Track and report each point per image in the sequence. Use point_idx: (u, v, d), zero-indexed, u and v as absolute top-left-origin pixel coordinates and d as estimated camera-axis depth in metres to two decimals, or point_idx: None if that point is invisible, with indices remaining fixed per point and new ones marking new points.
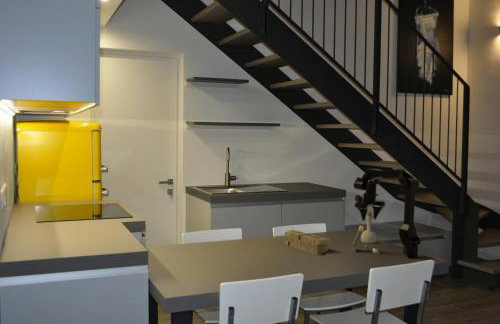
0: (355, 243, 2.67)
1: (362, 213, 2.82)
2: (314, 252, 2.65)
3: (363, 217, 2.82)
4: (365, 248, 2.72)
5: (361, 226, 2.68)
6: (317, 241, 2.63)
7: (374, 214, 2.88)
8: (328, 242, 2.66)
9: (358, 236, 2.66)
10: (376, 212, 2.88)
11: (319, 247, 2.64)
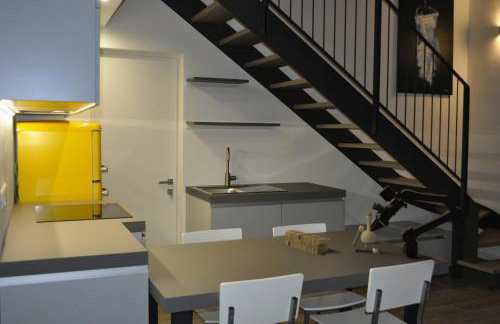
0: (355, 243, 2.67)
1: (376, 226, 2.61)
2: (314, 252, 2.65)
3: (374, 229, 2.62)
4: (365, 248, 2.72)
5: (361, 226, 2.68)
6: (317, 241, 2.63)
7: (373, 224, 2.72)
8: (328, 242, 2.66)
9: (358, 236, 2.66)
10: None
11: (319, 247, 2.65)
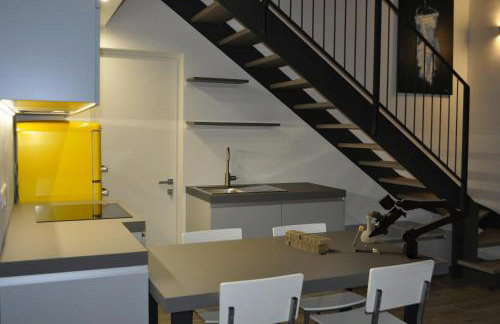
0: (355, 243, 2.67)
1: (374, 232, 2.66)
2: (315, 252, 2.65)
3: (372, 235, 2.66)
4: (365, 248, 2.72)
5: (361, 226, 2.68)
6: (318, 241, 2.63)
7: None
8: (329, 242, 2.66)
9: (358, 236, 2.66)
10: None
11: (320, 247, 2.65)
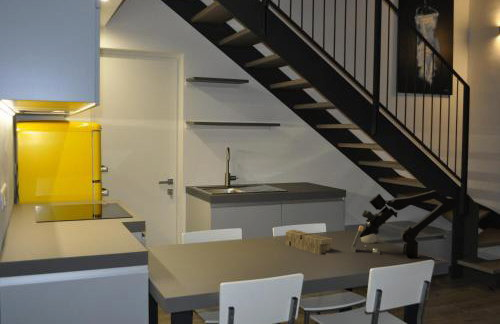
0: (355, 243, 2.67)
1: (365, 232, 2.66)
2: (316, 252, 2.66)
3: (363, 235, 2.67)
4: (365, 248, 2.72)
5: (361, 226, 2.68)
6: (320, 241, 2.64)
7: None
8: (330, 242, 2.67)
9: (358, 236, 2.66)
10: None
11: (321, 247, 2.65)
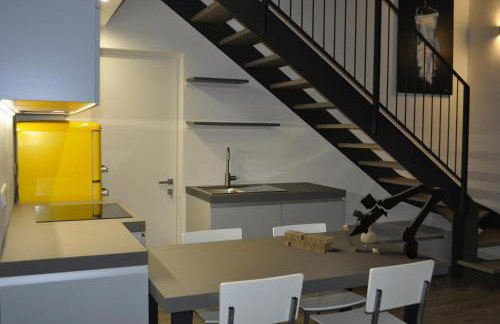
0: (351, 243, 2.67)
1: (356, 231, 2.67)
2: (321, 251, 2.67)
3: (353, 234, 2.68)
4: (365, 248, 2.72)
5: (344, 226, 2.69)
6: (324, 240, 2.65)
7: None
8: (333, 241, 2.69)
9: (348, 235, 2.67)
10: None
11: (325, 246, 2.67)
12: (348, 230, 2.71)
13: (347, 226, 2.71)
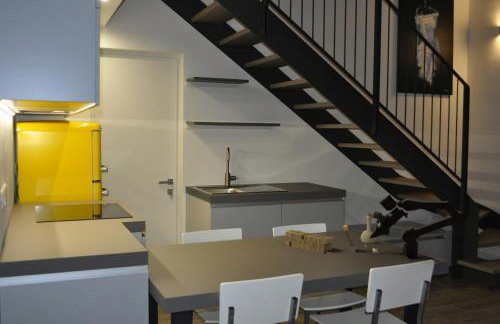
0: (351, 243, 2.67)
1: (376, 233, 2.65)
2: (320, 251, 2.67)
3: (373, 236, 2.66)
4: (365, 248, 2.72)
5: (344, 226, 2.69)
6: (324, 240, 2.65)
7: None
8: (333, 241, 2.69)
9: (348, 235, 2.67)
10: None
11: (325, 246, 2.67)
12: None
13: None
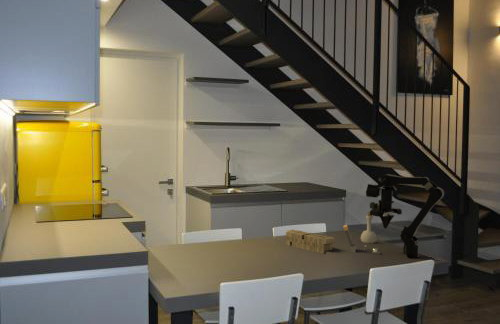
0: (351, 243, 2.67)
1: (383, 221, 2.69)
2: (320, 251, 2.67)
3: (384, 225, 2.69)
4: (365, 248, 2.72)
5: (344, 226, 2.69)
6: (324, 240, 2.65)
7: None
8: (333, 241, 2.69)
9: (348, 235, 2.67)
10: None
11: (325, 246, 2.67)
12: None
13: None
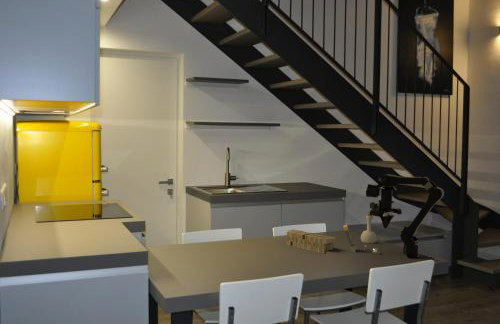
0: (351, 243, 2.67)
1: (383, 221, 2.69)
2: (321, 251, 2.68)
3: (384, 225, 2.69)
4: (365, 248, 2.72)
5: (344, 226, 2.69)
6: (324, 240, 2.66)
7: None
8: (334, 241, 2.69)
9: (348, 235, 2.67)
10: None
11: (326, 246, 2.67)
12: None
13: None
